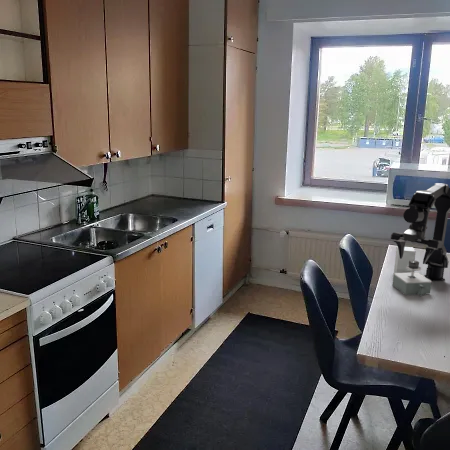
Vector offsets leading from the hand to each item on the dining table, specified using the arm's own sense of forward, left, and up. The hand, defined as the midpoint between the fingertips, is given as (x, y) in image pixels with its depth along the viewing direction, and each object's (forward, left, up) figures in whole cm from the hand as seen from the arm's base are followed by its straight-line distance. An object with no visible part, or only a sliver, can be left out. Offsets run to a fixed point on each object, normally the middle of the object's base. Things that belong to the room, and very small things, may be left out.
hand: (412, 261), depth 189 cm
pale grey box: (-5, -5, -15) cm, 17 cm away
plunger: (-5, -7, -11) cm, 14 cm away
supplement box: (-11, -24, -15) cm, 31 cm away
